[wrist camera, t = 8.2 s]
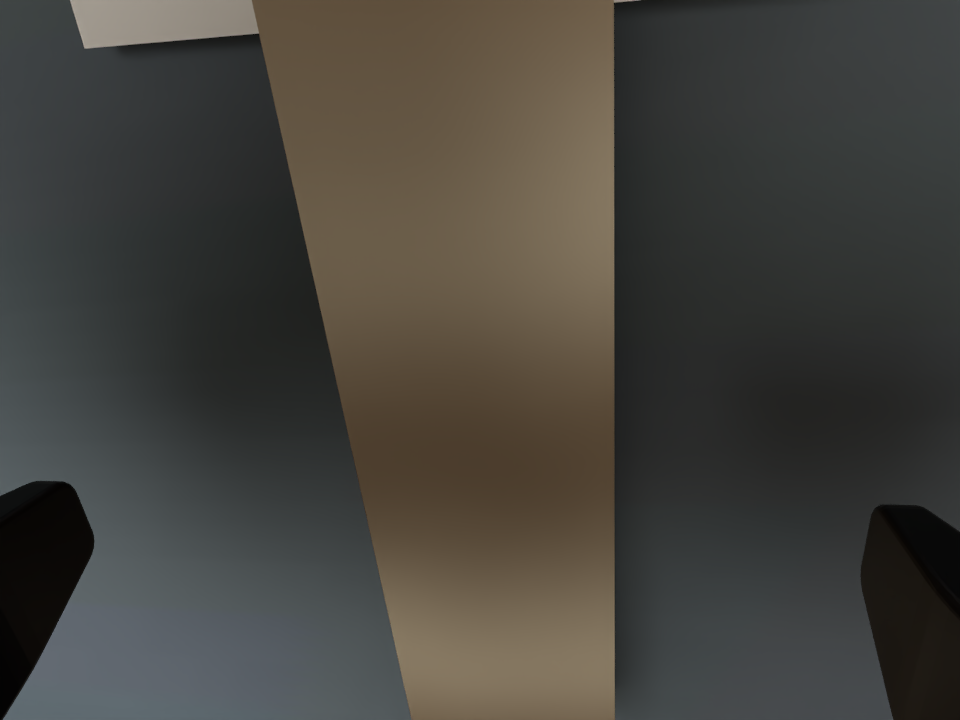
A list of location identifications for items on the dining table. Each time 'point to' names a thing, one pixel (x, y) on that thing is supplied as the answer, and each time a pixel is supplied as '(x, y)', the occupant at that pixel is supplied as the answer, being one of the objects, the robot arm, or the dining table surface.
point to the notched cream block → (163, 20)
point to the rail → (469, 326)
